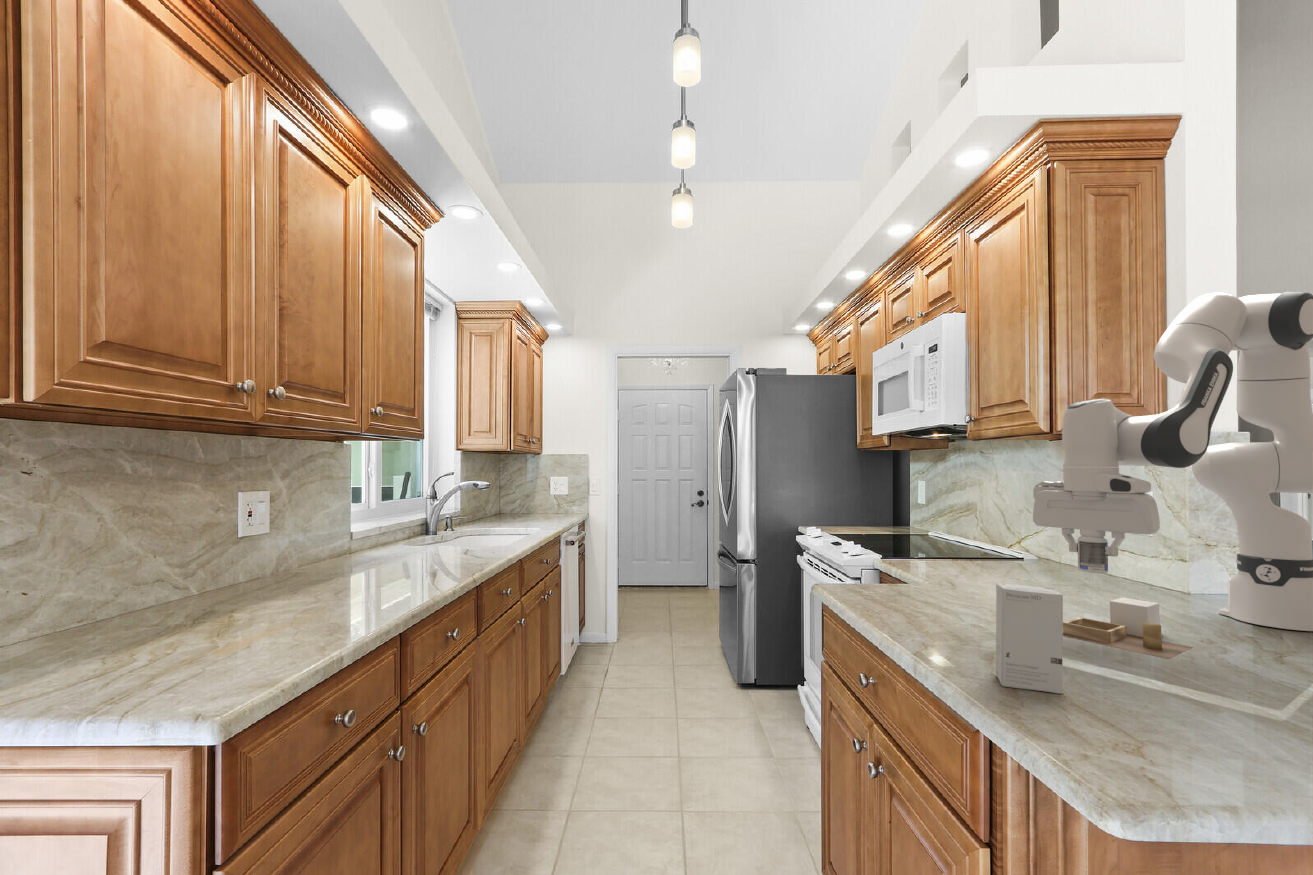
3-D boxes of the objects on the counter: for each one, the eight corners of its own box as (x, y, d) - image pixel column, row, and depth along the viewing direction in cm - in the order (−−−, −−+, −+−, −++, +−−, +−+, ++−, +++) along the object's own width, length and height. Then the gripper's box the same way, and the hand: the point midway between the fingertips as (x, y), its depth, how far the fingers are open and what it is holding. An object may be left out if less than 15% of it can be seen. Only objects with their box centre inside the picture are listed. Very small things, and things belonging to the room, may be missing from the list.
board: (1084, 631, 122) (1084, 605, 122) (1193, 653, 107) (1192, 624, 108) (1056, 640, 115) (1056, 613, 115) (1168, 666, 101) (1167, 634, 101)
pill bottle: (1113, 574, 113) (1112, 529, 113) (1085, 573, 114) (1084, 528, 114) (1100, 570, 117) (1099, 526, 118) (1073, 568, 118) (1072, 526, 118)
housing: (1123, 632, 121) (1122, 597, 121) (1160, 639, 116) (1159, 603, 116) (1110, 636, 118) (1109, 601, 118) (1148, 644, 113) (1147, 607, 113)
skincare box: (1001, 687, 91) (999, 588, 92) (995, 674, 96) (993, 581, 97) (1066, 695, 88) (1063, 593, 88) (1056, 681, 93) (1053, 585, 94)
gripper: (1025, 481, 123) (1027, 548, 123) (1148, 483, 106) (1151, 562, 105) (1040, 480, 127) (1042, 546, 126) (1161, 483, 110) (1164, 559, 109)
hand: (1093, 554), depth 116 cm, fingers closed on pill bottle, 5 cm apart
